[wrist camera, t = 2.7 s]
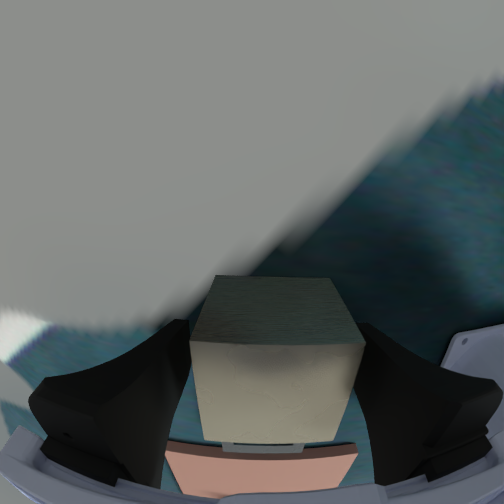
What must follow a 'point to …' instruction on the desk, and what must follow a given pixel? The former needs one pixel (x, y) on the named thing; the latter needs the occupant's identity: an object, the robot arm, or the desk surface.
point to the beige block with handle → (273, 362)
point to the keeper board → (256, 469)
